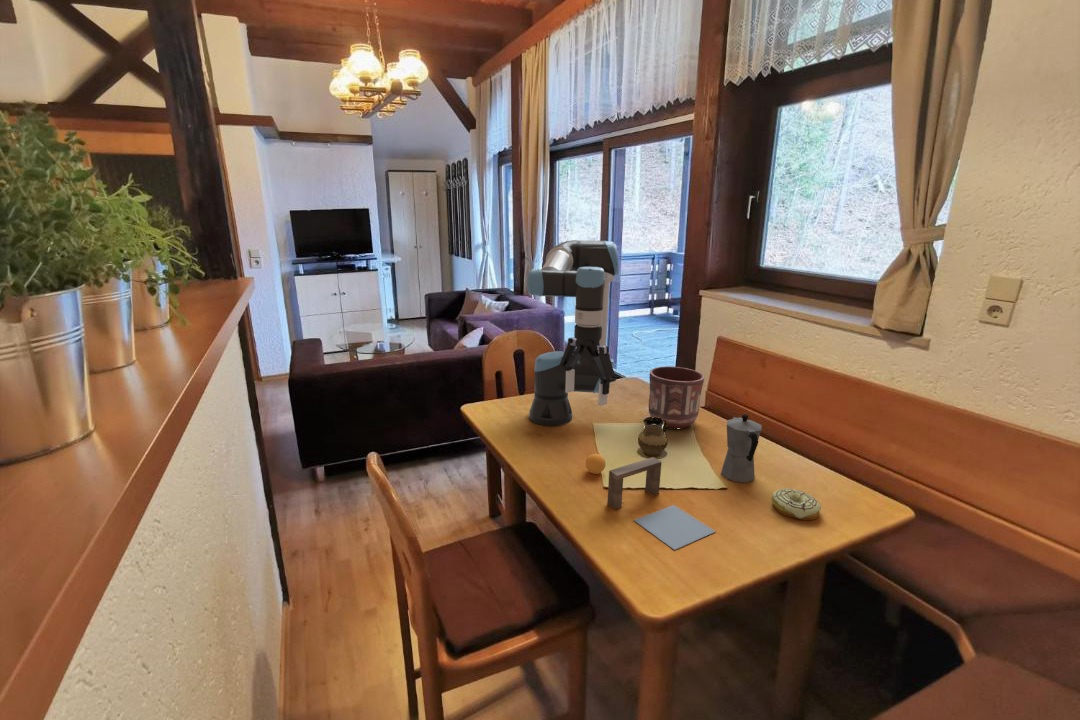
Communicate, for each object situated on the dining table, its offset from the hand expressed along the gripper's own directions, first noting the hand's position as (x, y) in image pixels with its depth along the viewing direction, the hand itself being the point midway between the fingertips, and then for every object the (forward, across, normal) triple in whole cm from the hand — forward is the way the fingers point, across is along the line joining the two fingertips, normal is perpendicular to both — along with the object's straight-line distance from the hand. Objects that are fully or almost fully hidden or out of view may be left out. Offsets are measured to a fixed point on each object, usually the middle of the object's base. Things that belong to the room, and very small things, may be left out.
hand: (585, 398), depth 149 cm
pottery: (+19, -2, +43) cm, 47 cm away
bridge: (+19, +24, -5) cm, 31 cm away
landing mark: (+19, +38, -6) cm, 43 cm away
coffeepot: (+19, +34, +27) cm, 47 cm away
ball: (+16, +8, -3) cm, 18 cm away
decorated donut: (+20, +51, +23) cm, 60 cm away
